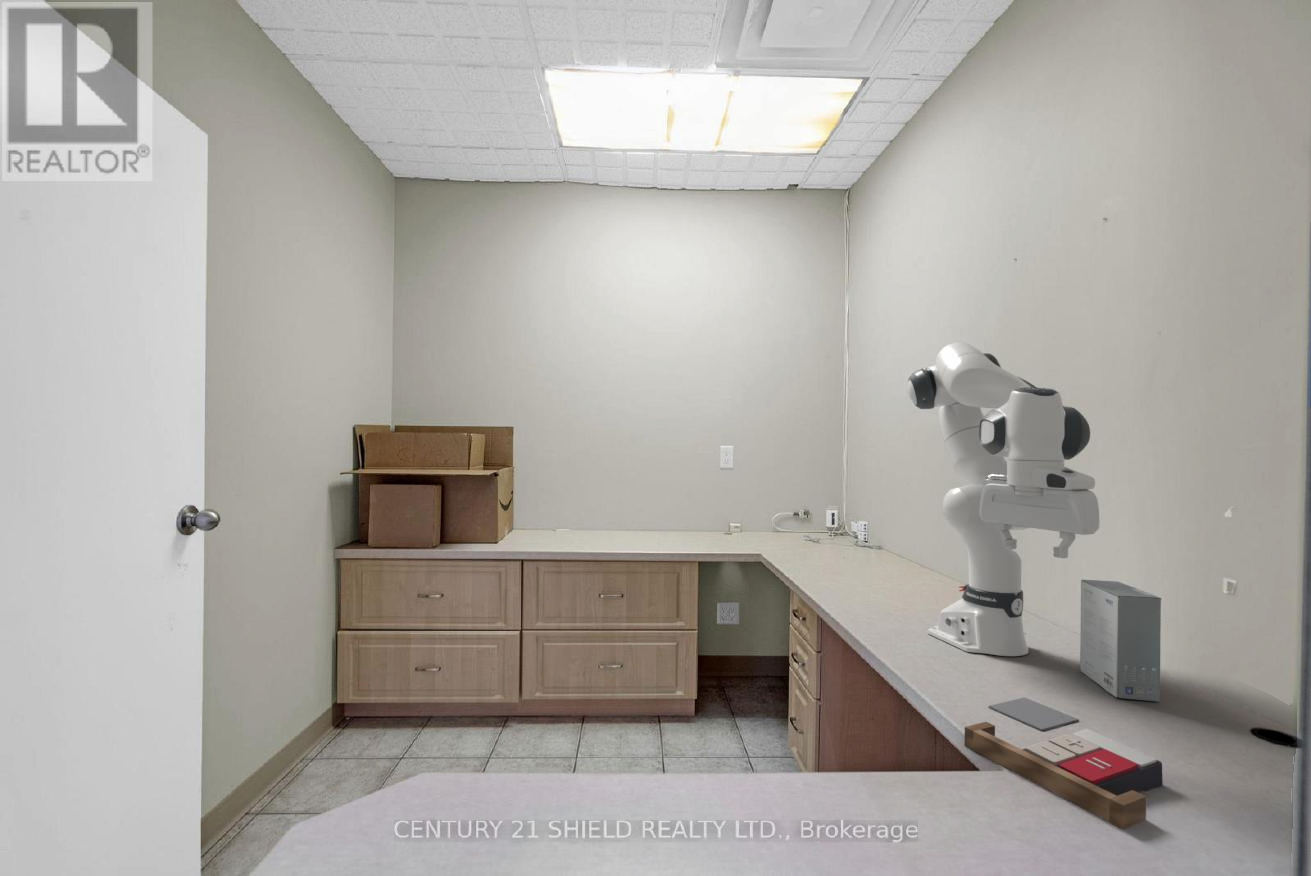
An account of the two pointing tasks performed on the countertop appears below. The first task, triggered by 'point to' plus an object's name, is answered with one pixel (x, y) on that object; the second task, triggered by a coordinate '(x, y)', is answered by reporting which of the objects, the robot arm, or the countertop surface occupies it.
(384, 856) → the countertop surface
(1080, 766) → the calculator
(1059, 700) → the countertop surface
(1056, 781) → the brown wooden handle
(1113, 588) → the hard drive box
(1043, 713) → the rest mat
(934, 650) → the countertop surface
